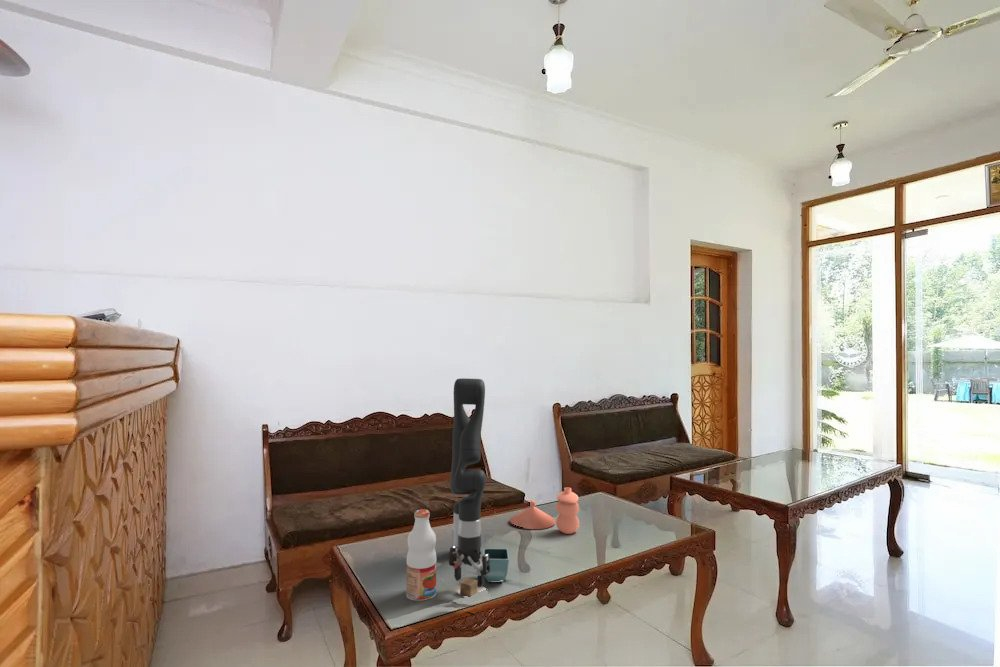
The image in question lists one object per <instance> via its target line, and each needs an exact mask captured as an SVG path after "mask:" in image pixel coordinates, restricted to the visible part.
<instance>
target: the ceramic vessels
mask: <svg viewBox="0 0 1000 667" xmlns="http://www.w3.org/2000/svg"><path fill="white" fill-rule="evenodd" d="M556 499H557V501H558V502H556V505H555V507H556V511H557V513H559V514H558V516H557V517H556V519H555V518H554V517H553V516H551V515H550V514H548V513H547V512H544V511H543V510H541V509H539V508H538V507H536V501H535V500H533V499H531V500H530V502H529V503H530V506H529V507H527V508H525V509H523V510H521V511H520V512H517V513H516V514H514V515H512V516H511V517H510V518H509V522H510V523H511V524H512V525H513V524H514V525H513V526H515V525H516V526H515V527H517V526H520V527H523V528H522V529H525V530H543V529H548V528H551V527H552V526H555V525H556V527H557V529H558V530H559V531H560V532H561V533H563V534H566V535H567V534H568V535H569V534H570V535H571V534H574V533H575V532H576V531H578V529H579V528H580V520H579V517H578V513H579V511H580V504H579V503H578V500H579V499H580V498H579V496H578V494H576V493H575V492H573V491H572V488H571V487H564V488H563V491H562V492H561V491H560V492H559V493H558V494H557V497H556ZM520 527H519V528H520Z"/></svg>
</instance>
